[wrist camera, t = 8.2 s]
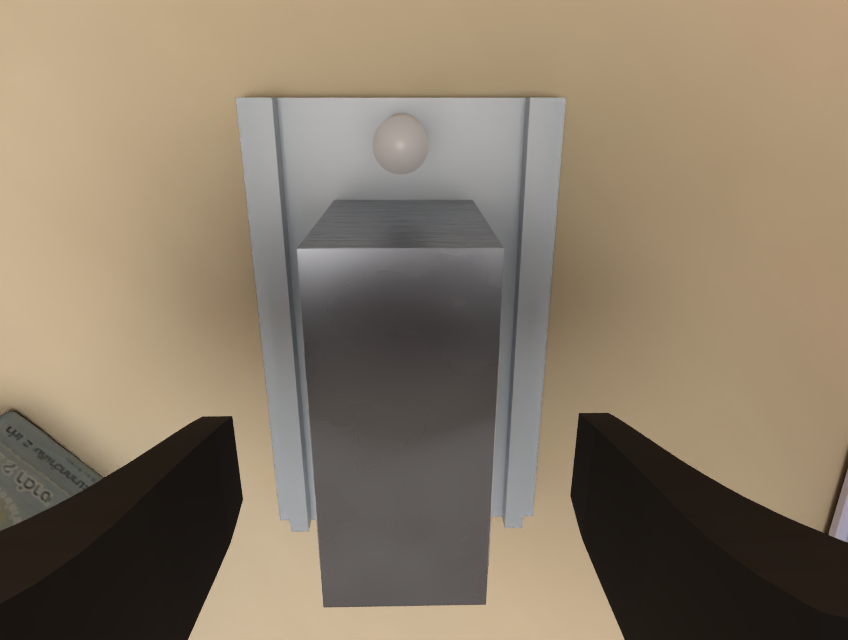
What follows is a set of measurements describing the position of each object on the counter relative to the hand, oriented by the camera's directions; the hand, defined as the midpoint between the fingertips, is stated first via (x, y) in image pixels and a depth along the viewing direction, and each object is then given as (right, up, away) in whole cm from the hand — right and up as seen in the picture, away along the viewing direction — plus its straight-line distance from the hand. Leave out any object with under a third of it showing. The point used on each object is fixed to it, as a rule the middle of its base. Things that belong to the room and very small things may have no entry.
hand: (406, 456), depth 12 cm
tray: (0, +3, +7) cm, 7 cm away
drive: (0, +2, +6) cm, 7 cm away
